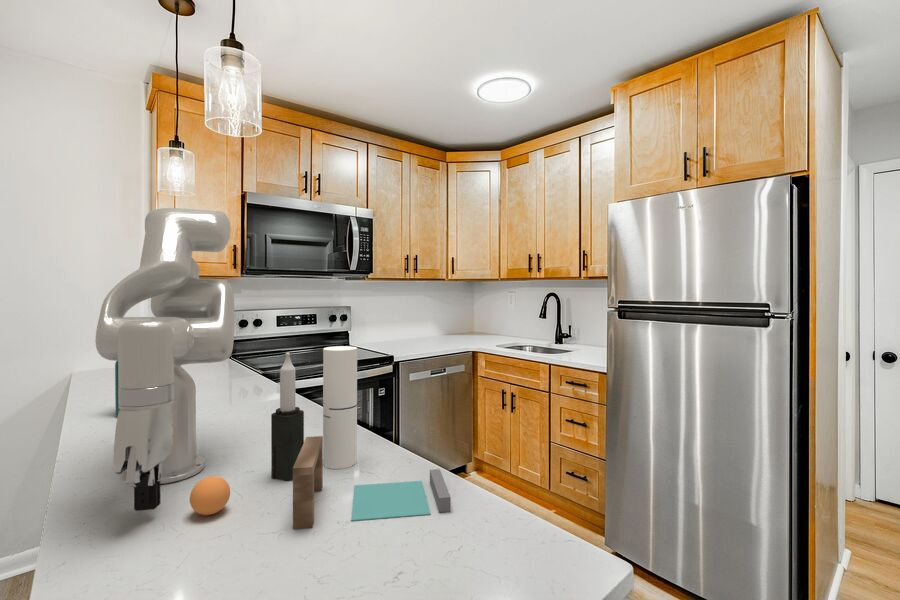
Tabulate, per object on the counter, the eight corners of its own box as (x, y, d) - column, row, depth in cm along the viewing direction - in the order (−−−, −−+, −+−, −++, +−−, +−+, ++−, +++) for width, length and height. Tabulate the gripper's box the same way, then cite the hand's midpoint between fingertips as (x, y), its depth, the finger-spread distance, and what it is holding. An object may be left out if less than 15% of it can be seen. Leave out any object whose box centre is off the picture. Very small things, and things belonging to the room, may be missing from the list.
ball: (183, 523, 72) (183, 486, 71) (197, 505, 78) (197, 471, 77) (223, 520, 73) (223, 484, 73) (234, 503, 79) (234, 469, 78)
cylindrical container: (348, 470, 93) (348, 351, 92) (317, 467, 95) (317, 349, 94) (361, 457, 100) (362, 346, 99) (332, 455, 101) (332, 345, 101)
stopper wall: (438, 512, 76) (438, 498, 76) (429, 482, 88) (429, 469, 88) (450, 511, 76) (450, 497, 76) (439, 481, 88) (439, 469, 88)
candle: (306, 471, 92) (306, 351, 92) (289, 481, 87) (289, 354, 87) (286, 468, 94) (285, 350, 93) (268, 478, 89) (268, 353, 88)
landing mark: (351, 521, 73) (351, 519, 73) (354, 486, 86) (354, 485, 86) (430, 514, 75) (430, 513, 75) (421, 481, 88) (421, 480, 88)
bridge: (292, 529, 70) (292, 468, 70) (306, 487, 85) (306, 436, 85) (312, 527, 71) (312, 467, 71) (322, 486, 86) (322, 436, 85)
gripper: (144, 387, 80) (144, 489, 80) (93, 408, 65) (93, 533, 65) (190, 386, 81) (190, 486, 81) (150, 406, 66) (150, 529, 66)
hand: (147, 507), depth 73 cm, fingers closed
